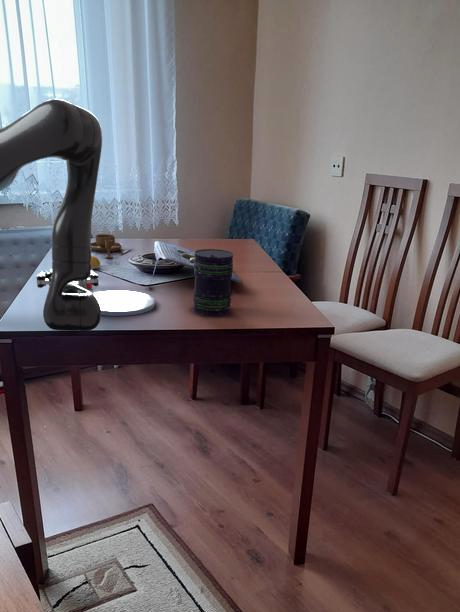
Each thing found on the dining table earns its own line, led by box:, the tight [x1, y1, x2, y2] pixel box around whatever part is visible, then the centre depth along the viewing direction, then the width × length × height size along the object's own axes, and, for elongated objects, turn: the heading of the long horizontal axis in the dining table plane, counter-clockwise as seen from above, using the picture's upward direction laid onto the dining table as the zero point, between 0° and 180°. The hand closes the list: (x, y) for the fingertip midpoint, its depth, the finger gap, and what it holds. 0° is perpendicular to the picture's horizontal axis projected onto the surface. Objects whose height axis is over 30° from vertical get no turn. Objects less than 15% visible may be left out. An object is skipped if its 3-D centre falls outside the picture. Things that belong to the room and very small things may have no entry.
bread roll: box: [91, 254, 101, 270], centre depth 179 cm, size 8×9×4 cm
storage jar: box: [192, 248, 234, 318], centre depth 141 cm, size 10×10×15 cm
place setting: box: [91, 233, 132, 260], centre depth 201 cm, size 18×20×6 cm
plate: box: [91, 290, 156, 317], centre depth 145 cm, size 19×19×1 cm
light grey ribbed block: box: [148, 240, 243, 288], centre depth 178 cm, size 45×27×12 cm, turn 11°
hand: (66, 271), depth 134 cm, fingers closed on sponge, 5 cm apart
